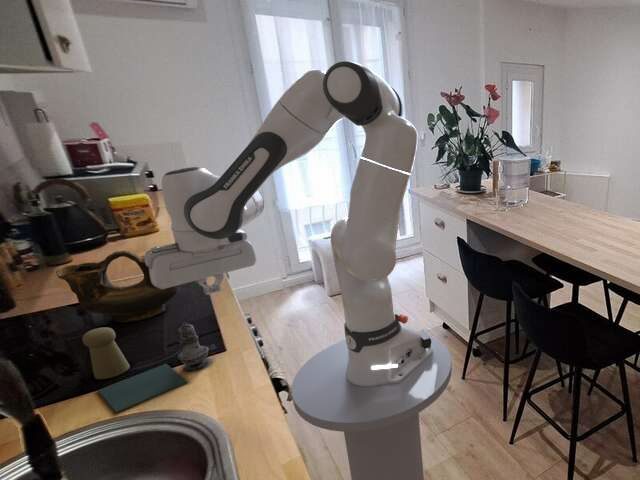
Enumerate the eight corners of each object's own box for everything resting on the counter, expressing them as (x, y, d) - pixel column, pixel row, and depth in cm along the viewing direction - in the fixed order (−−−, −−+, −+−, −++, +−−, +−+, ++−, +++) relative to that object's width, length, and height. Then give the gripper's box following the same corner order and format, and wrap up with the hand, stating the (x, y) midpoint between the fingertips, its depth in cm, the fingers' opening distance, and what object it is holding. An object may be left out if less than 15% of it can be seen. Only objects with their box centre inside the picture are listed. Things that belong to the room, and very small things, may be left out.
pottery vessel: (76, 336, 109) (47, 268, 102) (79, 320, 117) (53, 255, 110) (194, 309, 125) (176, 248, 118) (191, 296, 132) (174, 238, 126)
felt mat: (166, 364, 99) (166, 363, 99) (187, 382, 93) (187, 381, 93) (98, 391, 90) (97, 390, 89) (116, 413, 84) (116, 411, 84)
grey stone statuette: (175, 373, 96) (161, 329, 92) (190, 359, 101) (176, 316, 97) (204, 371, 97) (191, 327, 93) (216, 357, 103) (205, 315, 98)
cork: (94, 370, 96) (78, 329, 92) (129, 360, 100) (115, 321, 96) (93, 382, 92) (76, 340, 88) (130, 372, 96) (115, 331, 92)
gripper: (146, 253, 84) (164, 312, 89) (253, 231, 101) (263, 282, 106) (135, 246, 88) (153, 304, 92) (241, 227, 104) (251, 276, 109)
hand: (213, 292), depth 99 cm, fingers closed
